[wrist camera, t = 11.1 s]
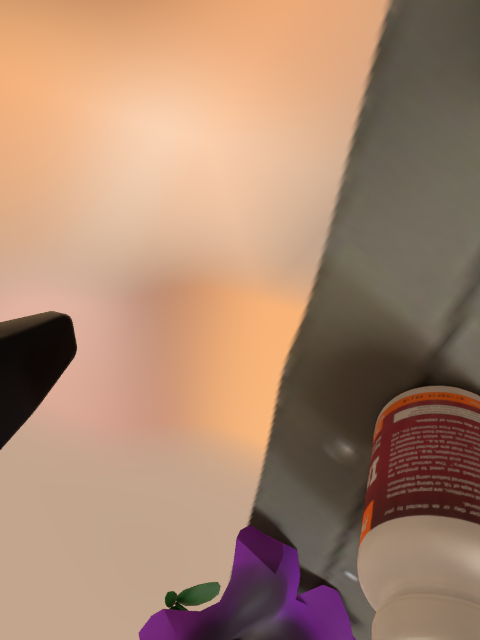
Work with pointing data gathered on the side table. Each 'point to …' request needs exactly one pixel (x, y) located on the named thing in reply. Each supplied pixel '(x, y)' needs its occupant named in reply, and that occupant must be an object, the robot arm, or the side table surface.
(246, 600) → the flower
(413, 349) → the side table surface
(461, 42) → the side table surface
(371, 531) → the pill bottle
